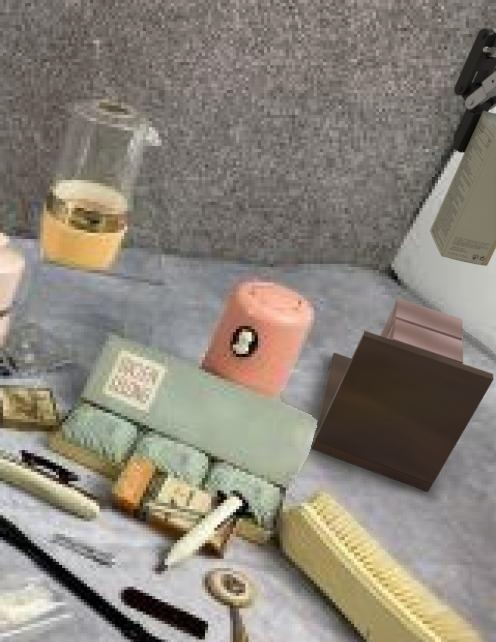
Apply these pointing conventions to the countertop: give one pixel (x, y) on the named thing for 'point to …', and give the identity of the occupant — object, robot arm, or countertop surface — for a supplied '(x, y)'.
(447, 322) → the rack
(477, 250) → the cosmetic box
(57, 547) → the countertop surface
